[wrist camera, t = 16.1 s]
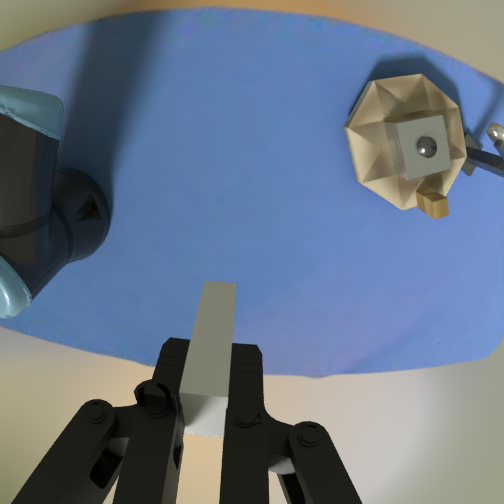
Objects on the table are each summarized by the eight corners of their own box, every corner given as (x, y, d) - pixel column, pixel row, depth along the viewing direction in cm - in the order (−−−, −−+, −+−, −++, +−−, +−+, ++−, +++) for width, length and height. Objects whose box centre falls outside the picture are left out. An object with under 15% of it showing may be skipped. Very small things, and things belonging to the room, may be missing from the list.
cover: (394, 173, 36) (409, 181, 32) (383, 121, 33) (398, 124, 29) (436, 162, 35) (454, 169, 31) (426, 113, 32) (445, 115, 28)
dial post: (427, 133, 37) (492, 150, 23) (442, 109, 35) (508, 118, 21) (466, 174, 39) (527, 204, 25) (480, 152, 37) (542, 175, 23)
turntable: (364, 216, 41) (381, 236, 34) (331, 88, 33) (347, 84, 27) (462, 188, 38) (489, 201, 32) (442, 72, 31) (470, 69, 24)
